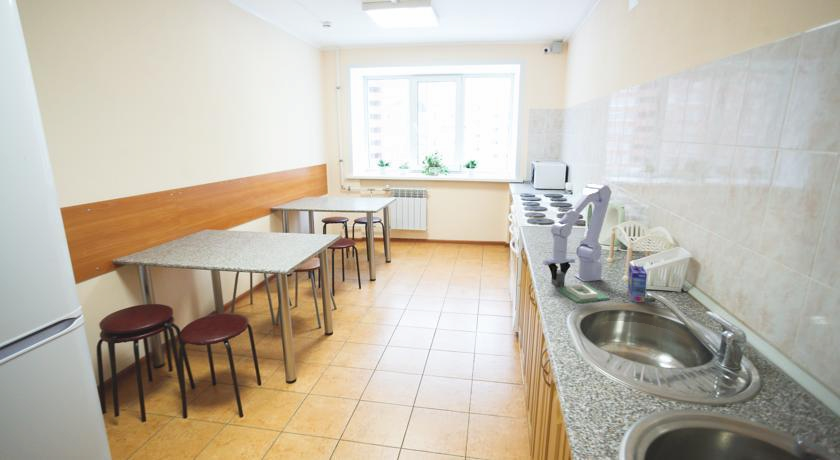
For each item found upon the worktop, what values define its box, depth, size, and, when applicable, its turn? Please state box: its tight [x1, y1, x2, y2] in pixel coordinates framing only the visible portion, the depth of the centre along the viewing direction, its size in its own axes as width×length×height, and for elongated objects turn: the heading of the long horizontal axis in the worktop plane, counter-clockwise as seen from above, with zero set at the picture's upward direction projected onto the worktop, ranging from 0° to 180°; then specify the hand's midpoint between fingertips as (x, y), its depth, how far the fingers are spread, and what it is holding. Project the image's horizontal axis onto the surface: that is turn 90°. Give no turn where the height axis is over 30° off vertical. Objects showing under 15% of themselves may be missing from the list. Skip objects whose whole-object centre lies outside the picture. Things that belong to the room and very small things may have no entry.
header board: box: [556, 283, 611, 304], centre depth 170 cm, size 15×15×3 cm
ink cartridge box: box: [627, 262, 648, 303], centre depth 164 cm, size 10×6×14 cm, turn 161°
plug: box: [551, 269, 566, 288], centre depth 181 cm, size 4×6×6 cm, turn 11°
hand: (558, 278), depth 181 cm, fingers closed on plug, 3 cm apart
